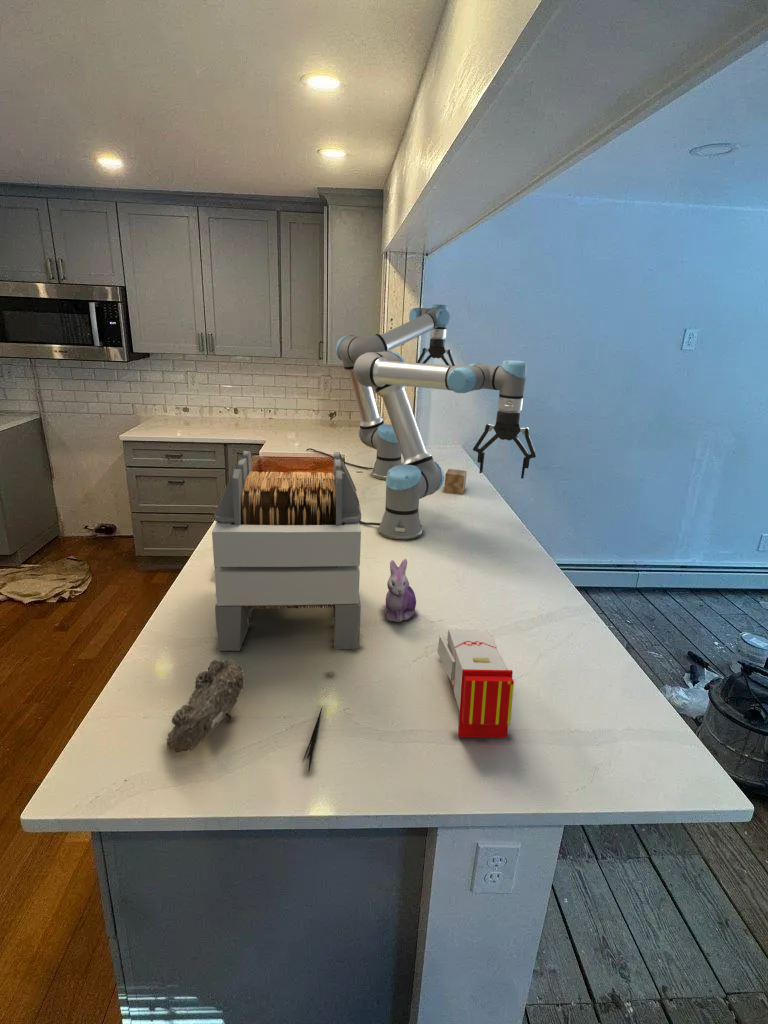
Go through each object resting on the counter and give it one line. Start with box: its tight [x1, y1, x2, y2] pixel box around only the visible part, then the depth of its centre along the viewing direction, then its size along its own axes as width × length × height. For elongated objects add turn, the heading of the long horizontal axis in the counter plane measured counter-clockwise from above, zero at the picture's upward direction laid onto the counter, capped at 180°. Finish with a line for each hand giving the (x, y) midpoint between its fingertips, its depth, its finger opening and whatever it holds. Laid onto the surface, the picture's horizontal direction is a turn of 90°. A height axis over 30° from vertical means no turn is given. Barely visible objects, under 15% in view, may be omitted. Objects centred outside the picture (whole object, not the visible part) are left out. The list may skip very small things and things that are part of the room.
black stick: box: [301, 673, 332, 771], centre depth 108 cm, size 2×28×2 cm
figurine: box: [384, 558, 417, 623], centre depth 145 cm, size 9×10×15 cm
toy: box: [437, 628, 515, 738], centre depth 117 cm, size 12×13×30 cm
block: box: [443, 468, 468, 495], centre depth 250 cm, size 8×8×8 cm
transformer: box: [211, 450, 362, 653], centre depth 138 cm, size 34×33×41 cm
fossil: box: [166, 658, 245, 754], centre depth 106 cm, size 22×10×15 cm
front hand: (501, 474), depth 188 cm, fingers open, 13 cm apart
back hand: (434, 383), depth 281 cm, fingers open, 13 cm apart
